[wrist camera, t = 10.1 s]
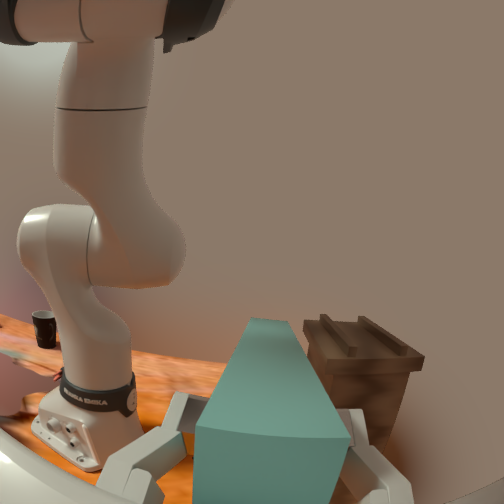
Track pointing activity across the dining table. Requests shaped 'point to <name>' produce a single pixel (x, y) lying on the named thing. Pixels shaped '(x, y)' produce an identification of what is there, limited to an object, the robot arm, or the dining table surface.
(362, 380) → the walnut stand
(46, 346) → the coffee mug
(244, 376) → the teal square bar
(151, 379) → the dining table surface
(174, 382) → the dining table surface
